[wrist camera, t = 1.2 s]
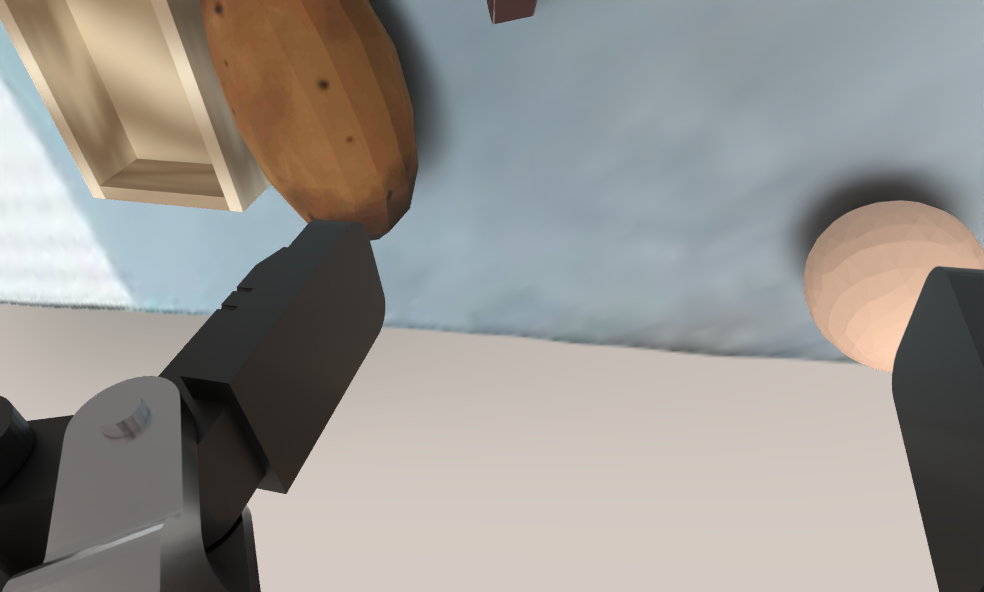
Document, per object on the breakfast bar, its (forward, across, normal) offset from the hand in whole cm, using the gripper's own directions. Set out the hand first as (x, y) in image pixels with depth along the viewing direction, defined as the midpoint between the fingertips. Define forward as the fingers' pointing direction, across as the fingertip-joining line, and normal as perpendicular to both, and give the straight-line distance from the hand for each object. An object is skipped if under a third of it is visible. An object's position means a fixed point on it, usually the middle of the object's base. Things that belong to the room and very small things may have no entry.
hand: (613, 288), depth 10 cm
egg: (+21, -10, +12) cm, 26 cm away
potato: (+21, +15, +4) cm, 26 cm away
